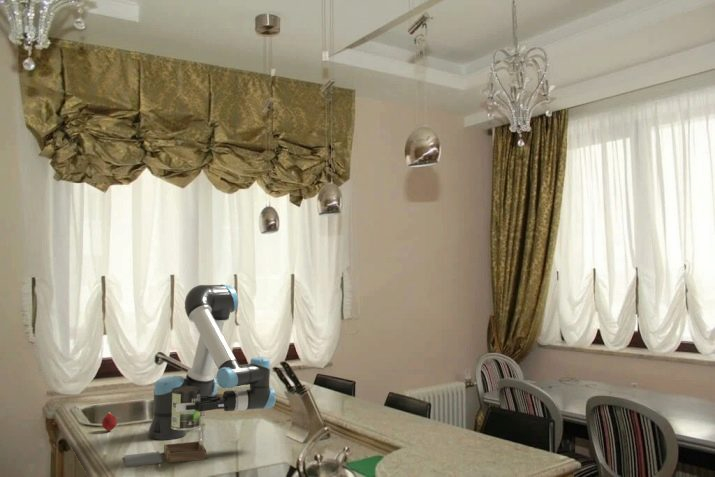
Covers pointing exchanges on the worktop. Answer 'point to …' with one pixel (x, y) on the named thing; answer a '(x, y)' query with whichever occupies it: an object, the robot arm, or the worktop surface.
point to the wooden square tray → (184, 455)
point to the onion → (109, 422)
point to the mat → (142, 459)
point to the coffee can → (185, 418)
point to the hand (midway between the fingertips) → (174, 404)
